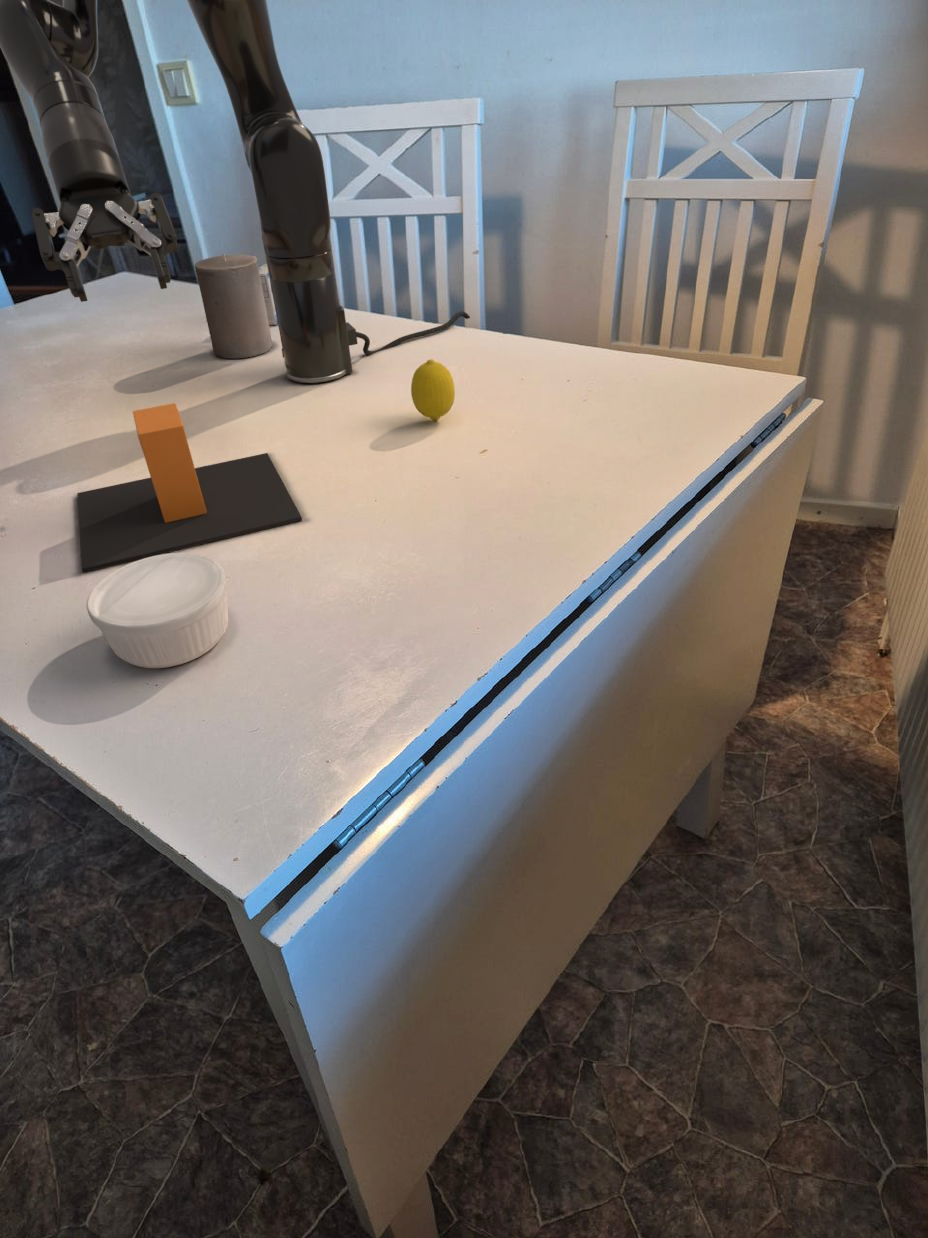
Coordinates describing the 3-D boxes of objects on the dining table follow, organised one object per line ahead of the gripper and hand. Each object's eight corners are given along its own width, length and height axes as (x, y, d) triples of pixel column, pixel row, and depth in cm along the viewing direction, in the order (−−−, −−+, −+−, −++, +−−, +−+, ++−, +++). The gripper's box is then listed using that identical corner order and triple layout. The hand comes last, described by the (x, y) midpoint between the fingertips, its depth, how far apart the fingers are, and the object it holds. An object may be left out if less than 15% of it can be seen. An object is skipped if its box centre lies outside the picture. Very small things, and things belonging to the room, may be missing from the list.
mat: (268, 456, 99) (267, 452, 99) (302, 520, 86) (301, 516, 85) (78, 496, 93) (77, 492, 93) (83, 572, 79) (81, 568, 79)
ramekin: (113, 612, 74) (95, 562, 70) (238, 591, 75) (225, 542, 72) (97, 690, 65) (75, 638, 62) (239, 664, 66) (224, 612, 63)
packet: (198, 487, 92) (175, 402, 86) (207, 513, 87) (183, 425, 81) (158, 495, 91) (132, 410, 85) (165, 523, 86) (137, 434, 80)
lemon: (463, 415, 106) (459, 354, 102) (445, 431, 102) (440, 369, 98) (426, 410, 108) (420, 350, 104) (406, 426, 104) (400, 364, 100)
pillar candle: (203, 351, 134) (180, 254, 125) (255, 336, 139) (236, 242, 131) (232, 363, 128) (210, 262, 119) (285, 347, 133) (267, 250, 125)
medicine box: (276, 325, 144) (266, 274, 139) (253, 325, 145) (242, 274, 140) (292, 312, 150) (284, 262, 145) (270, 312, 151) (260, 263, 146)
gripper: (6, 144, 85) (45, 281, 83) (145, 128, 89) (186, 259, 87) (26, 193, 92) (63, 321, 91) (154, 177, 96) (192, 299, 95)
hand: (123, 290), depth 89 cm, fingers open, 8 cm apart
